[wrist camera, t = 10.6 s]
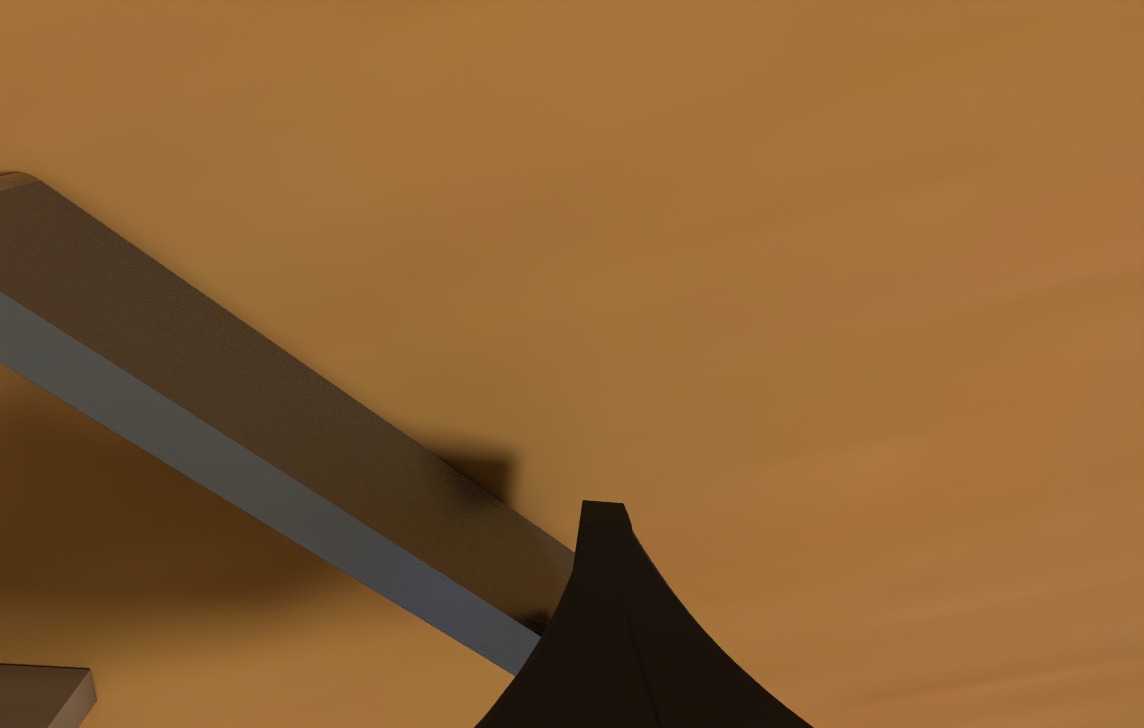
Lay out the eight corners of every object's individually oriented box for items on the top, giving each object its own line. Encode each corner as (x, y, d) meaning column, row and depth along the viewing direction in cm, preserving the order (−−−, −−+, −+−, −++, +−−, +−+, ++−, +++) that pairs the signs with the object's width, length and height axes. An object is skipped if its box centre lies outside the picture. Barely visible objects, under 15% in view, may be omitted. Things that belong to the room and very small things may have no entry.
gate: (575, 553, 15) (581, 662, 13) (545, 581, 16) (544, 693, 13) (12, 160, 12) (-152, 194, 9) (-14, 206, 12) (-181, 252, 9)
